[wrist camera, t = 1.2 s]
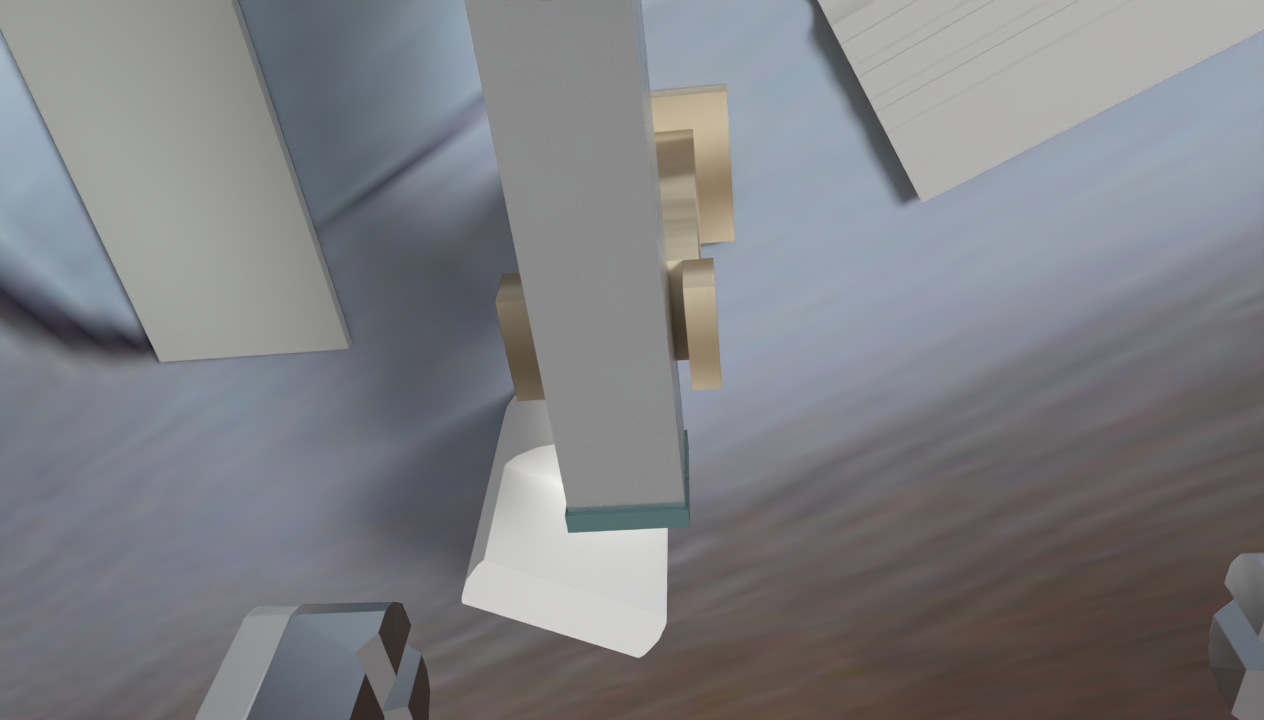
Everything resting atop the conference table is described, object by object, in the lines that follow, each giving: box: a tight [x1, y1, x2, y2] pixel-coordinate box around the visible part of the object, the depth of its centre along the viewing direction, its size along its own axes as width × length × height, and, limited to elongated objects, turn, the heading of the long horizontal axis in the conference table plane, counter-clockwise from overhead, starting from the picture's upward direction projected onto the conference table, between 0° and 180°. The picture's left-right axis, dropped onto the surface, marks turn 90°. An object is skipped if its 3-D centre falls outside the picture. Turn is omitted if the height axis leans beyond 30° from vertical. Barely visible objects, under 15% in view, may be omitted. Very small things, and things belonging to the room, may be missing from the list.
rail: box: [464, 0, 690, 533], centre depth 26 cm, size 30×4×4 cm, turn 6°
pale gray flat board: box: [0, 0, 352, 362], centre depth 39 cm, size 34×10×1 cm, turn 6°
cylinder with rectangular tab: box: [462, 394, 667, 658], centre depth 47 cm, size 9×9×12 cm
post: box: [495, 84, 735, 401], centre depth 37 cm, size 7×9×14 cm
